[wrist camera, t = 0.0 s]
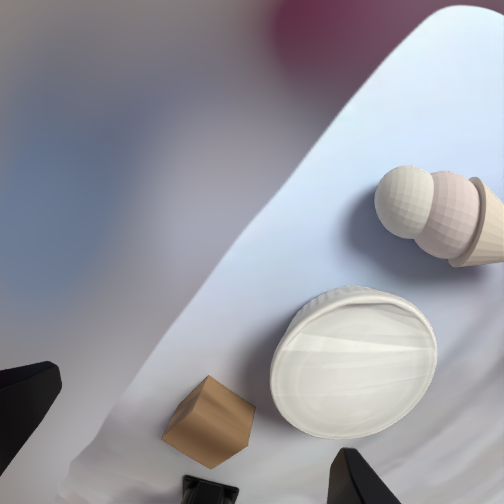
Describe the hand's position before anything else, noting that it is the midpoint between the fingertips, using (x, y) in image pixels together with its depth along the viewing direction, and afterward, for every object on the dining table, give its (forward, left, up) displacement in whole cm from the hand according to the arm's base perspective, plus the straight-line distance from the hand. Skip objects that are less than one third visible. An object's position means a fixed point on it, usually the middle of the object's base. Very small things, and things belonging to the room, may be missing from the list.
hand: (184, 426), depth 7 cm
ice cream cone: (+8, -14, -15) cm, 22 cm away
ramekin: (-3, -8, -15) cm, 17 cm away
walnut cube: (-12, +1, -15) cm, 19 cm away
